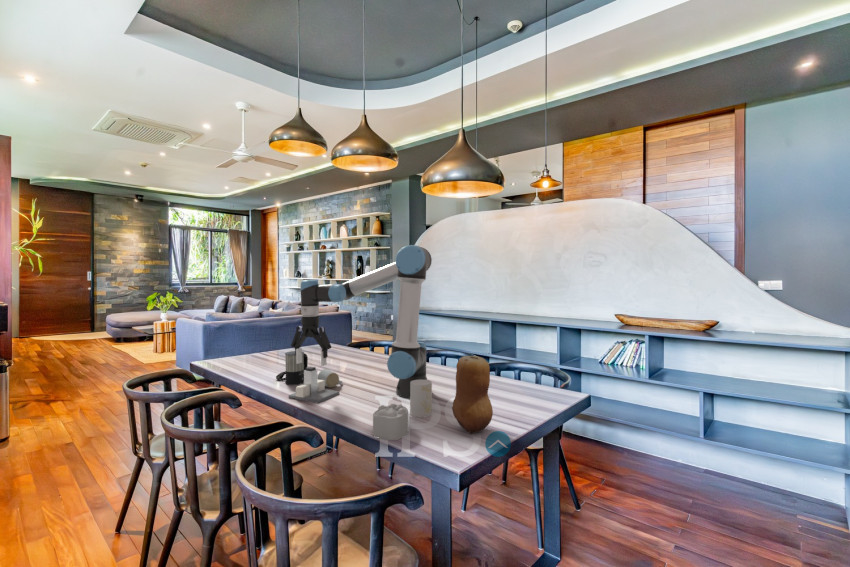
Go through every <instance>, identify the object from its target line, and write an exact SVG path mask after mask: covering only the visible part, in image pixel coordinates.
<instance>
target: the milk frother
mask: <svg viewBox="0 0 850 567" xmlns="http://www.w3.org/2000/svg"><path fill="white" fill-rule="evenodd" d="M284 355H285V357H284V358H285V359H284V360H285V371H282V372H279V373H278V374H277V375H276V377H275V378H276V379H275V380H277V381H281V380H282V381H284V384H285V383H286V385H289V384H295V385H300V384H299V383H301V384H304V383H303V382H304V370H306V368H307V367H309V366H308V363H309V362H308V361H309V360H308V359H309V357H308V355H307V353H305V352H304V351H303V350H302V363H299V364H296V355H295V350H293V351H292V350H291V351H287V352H284Z"/></svg>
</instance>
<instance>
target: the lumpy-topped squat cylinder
mask: <svg viewBox="0 0 850 567" xmlns="http://www.w3.org/2000/svg"><path fill="white" fill-rule="evenodd" d="M408 410H409V409H408V408H407V407H406V406H405V405H402V404H396V403H390V404H389V405H387V406H386V405H383V404H382V405H379V407H378V408H377V410H375V411H374V412H373V413H372V436H373V435H374V436H375V437H379V438H378V439H381V438H384V439H383V440H387V441H398V440H400V439H402V438H404V437H405V436H406V435H407V434H408V433H409V411H408ZM375 437H374V438H375Z"/></svg>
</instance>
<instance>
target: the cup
mask: <svg viewBox="0 0 850 567" xmlns="http://www.w3.org/2000/svg"><path fill="white" fill-rule="evenodd" d="M432 388H433V382H432V381H431V380H429V379H427V380H413V381H411V382H410V398H409V401H410V402H409V404H410V407H409V408H410V415H411V416H412V417H415V418H427V417H430V416H432V414H433V409H432V408H433V406H432V403H433V399H432V398H433V394H432V392H433V391H432V390H433V389H432Z"/></svg>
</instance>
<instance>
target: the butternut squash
mask: <svg viewBox="0 0 850 567" xmlns="http://www.w3.org/2000/svg"><path fill="white" fill-rule="evenodd" d="M490 368H491V367H490V364H489V362H488V361H487V360H486V359H485V358H484V357H481V356H477V355H473V356H472V355H471V356H470V355H464V356H461V357H460V358H459V359H458V362H457V363H456V373H455V396H454V400H453V402H452V413H453V416H454V418H455V419H456V421H457V423H458V424H459V426H460V427H461V428H462V429H463V430H464V431H465V432H467V433H469V434H474V433H479V432H482V431H483V430H484V429H486V428H487V427H488V426H489V425H490V423H491V421H492V419H493V416H494V414H493V411H494V409H493V405H492V403H491V400H490V397H489V394H488V392H489V388H490V383H491V382H490V380H491V379H490V378H491V377H490V376H491V375H490V374H491V371H490V370H491V369H490Z"/></svg>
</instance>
